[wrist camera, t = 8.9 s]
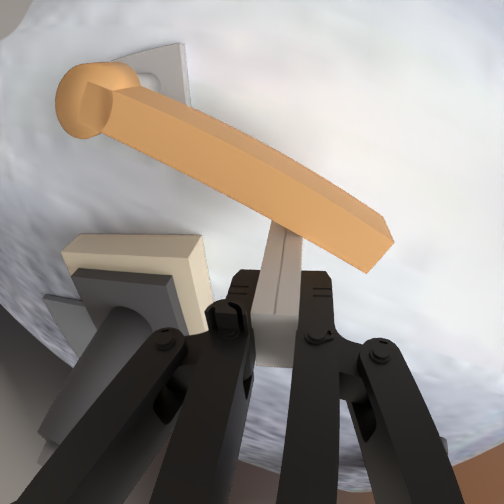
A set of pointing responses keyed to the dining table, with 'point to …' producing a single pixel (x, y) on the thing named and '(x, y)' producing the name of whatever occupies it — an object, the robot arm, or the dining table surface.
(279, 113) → the dining table surface
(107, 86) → the orange lever handle
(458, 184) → the dining table surface
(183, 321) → the plug
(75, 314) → the mat
